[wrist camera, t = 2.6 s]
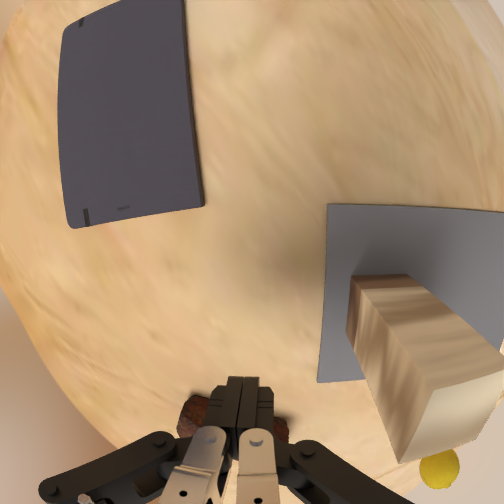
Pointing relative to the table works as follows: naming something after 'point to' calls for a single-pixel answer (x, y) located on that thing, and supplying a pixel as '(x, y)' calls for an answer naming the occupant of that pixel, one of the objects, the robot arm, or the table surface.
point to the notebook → (127, 114)
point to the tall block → (421, 365)
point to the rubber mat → (411, 268)
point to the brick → (195, 416)
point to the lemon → (440, 469)
